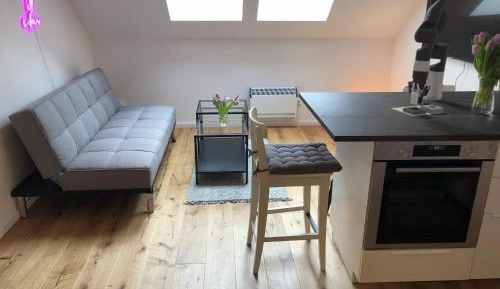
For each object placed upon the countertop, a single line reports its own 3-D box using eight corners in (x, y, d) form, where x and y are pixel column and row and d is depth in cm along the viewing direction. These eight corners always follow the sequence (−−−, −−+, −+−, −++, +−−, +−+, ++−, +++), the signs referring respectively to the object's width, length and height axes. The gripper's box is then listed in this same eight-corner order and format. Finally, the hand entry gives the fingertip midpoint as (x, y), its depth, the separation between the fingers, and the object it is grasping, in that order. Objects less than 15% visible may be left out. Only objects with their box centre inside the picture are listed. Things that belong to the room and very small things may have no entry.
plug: (416, 102, 213) (418, 91, 211) (422, 104, 210) (423, 92, 208) (409, 103, 211) (410, 91, 210) (414, 104, 208) (416, 93, 206)
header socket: (415, 110, 217) (416, 106, 216) (425, 113, 210) (426, 109, 210) (402, 111, 214) (403, 107, 213) (412, 114, 207) (413, 111, 207)
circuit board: (419, 107, 227) (421, 100, 226) (443, 114, 212) (444, 107, 211) (390, 110, 221) (391, 102, 219) (412, 117, 206) (413, 110, 204)
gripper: (437, 71, 200) (432, 105, 206) (417, 67, 213) (412, 99, 218) (425, 72, 197) (420, 106, 203) (405, 67, 210) (401, 100, 216)
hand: (416, 102), depth 211 cm, fingers closed on plug, 4 cm apart
